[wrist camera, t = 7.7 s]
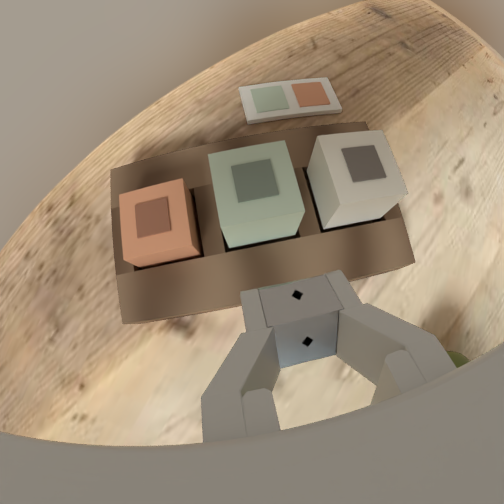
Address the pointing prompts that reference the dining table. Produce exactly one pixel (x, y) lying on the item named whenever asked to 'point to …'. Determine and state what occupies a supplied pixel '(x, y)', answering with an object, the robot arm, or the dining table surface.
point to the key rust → (160, 225)
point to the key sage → (256, 193)
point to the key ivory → (354, 177)
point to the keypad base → (251, 255)
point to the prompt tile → (288, 99)
